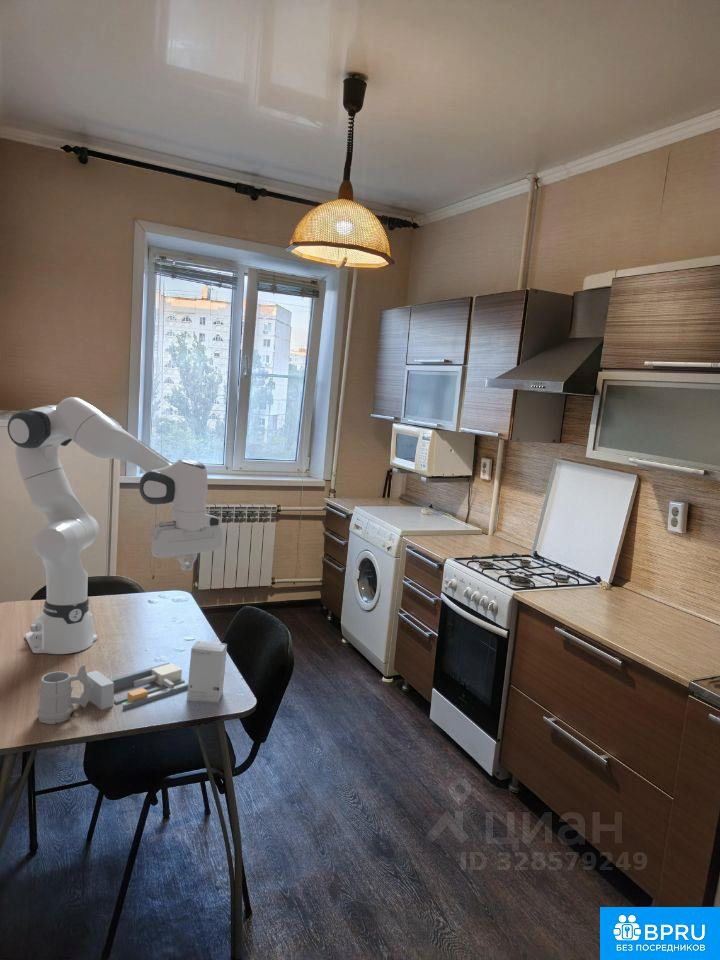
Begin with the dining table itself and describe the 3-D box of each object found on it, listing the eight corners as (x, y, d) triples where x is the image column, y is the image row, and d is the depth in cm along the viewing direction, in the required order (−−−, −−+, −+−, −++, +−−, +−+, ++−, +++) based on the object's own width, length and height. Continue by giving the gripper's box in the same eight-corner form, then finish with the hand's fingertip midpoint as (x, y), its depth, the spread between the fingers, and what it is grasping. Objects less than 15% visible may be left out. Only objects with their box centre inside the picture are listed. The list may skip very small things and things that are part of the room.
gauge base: (77, 695, 159) (77, 668, 158) (169, 668, 179) (170, 644, 178) (109, 721, 148) (109, 692, 147) (203, 689, 167) (204, 663, 166)
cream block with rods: (130, 686, 163) (130, 675, 163) (171, 673, 172) (171, 663, 172) (149, 699, 157) (149, 688, 157) (190, 685, 166) (191, 675, 166)
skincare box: (186, 705, 159) (188, 648, 157) (192, 694, 165) (194, 639, 163) (219, 707, 159) (222, 650, 157) (224, 696, 165) (227, 641, 163)
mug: (35, 712, 150) (36, 664, 148) (89, 703, 156) (90, 656, 154) (38, 727, 143) (38, 677, 142) (94, 717, 149) (95, 669, 148)
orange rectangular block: (127, 701, 156) (127, 692, 155) (142, 696, 158) (142, 687, 158) (132, 705, 154) (132, 695, 154) (147, 700, 157) (147, 691, 156)
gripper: (160, 525, 160) (157, 578, 162) (226, 519, 175) (223, 567, 177) (147, 520, 164) (145, 572, 166) (213, 515, 180) (211, 562, 181)
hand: (186, 569), depth 172 cm, fingers closed
